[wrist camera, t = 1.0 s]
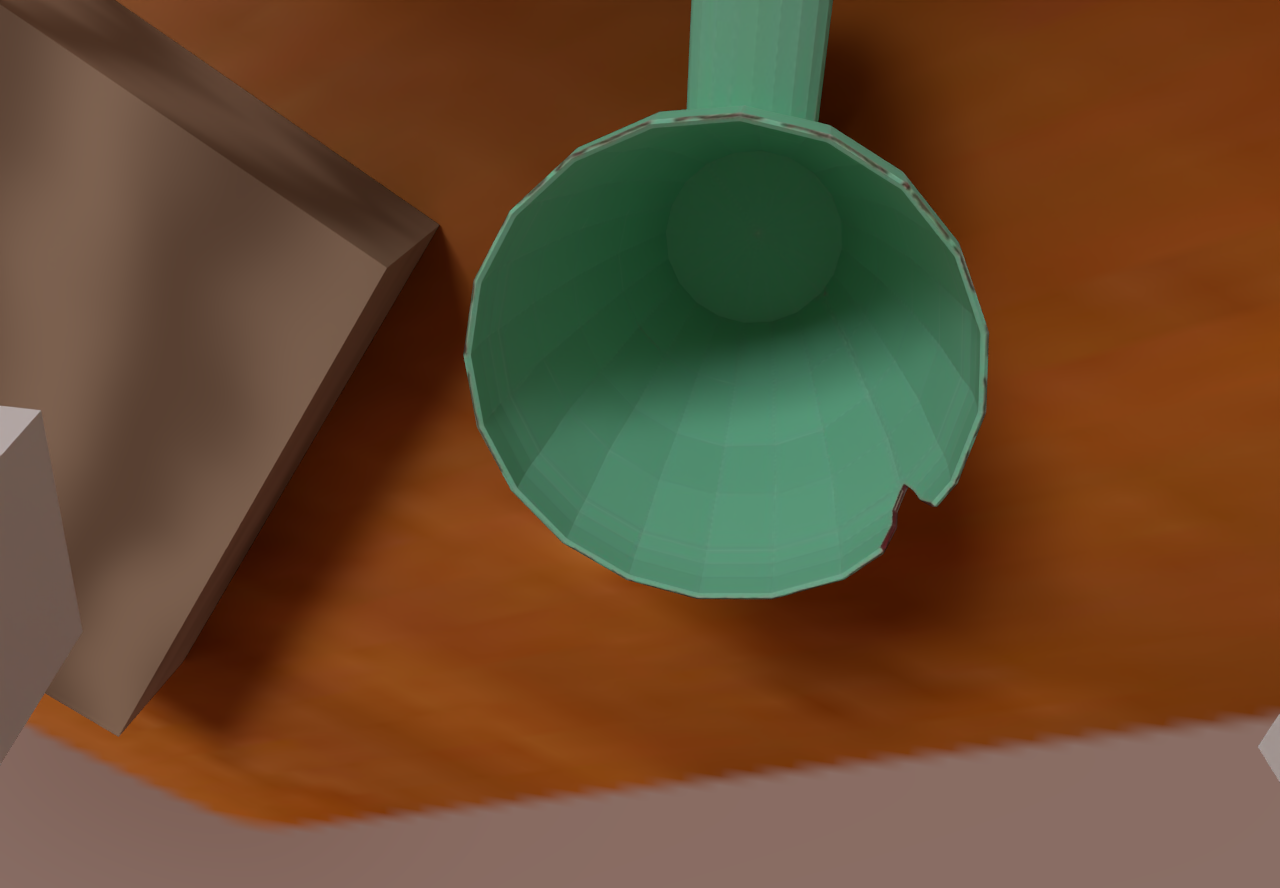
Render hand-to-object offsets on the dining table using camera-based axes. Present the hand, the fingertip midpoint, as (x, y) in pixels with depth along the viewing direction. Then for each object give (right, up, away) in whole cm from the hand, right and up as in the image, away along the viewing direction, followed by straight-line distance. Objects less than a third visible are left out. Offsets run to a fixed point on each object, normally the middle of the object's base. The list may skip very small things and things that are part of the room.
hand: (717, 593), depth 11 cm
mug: (+2, +9, +17) cm, 20 cm away
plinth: (-20, +6, +22) cm, 31 cm away
